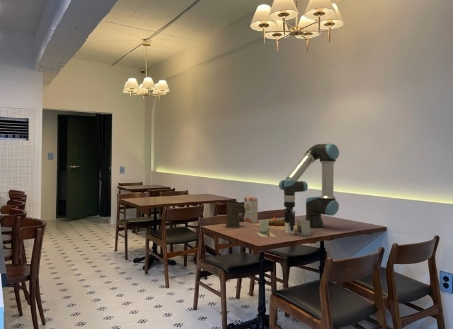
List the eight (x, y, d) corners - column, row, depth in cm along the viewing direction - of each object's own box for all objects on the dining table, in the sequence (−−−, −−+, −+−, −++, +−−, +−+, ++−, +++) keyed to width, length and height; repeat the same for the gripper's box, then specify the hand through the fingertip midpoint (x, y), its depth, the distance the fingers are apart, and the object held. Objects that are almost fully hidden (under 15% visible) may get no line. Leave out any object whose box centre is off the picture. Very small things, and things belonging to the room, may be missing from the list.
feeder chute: (304, 233, 259) (304, 219, 259) (309, 235, 251) (309, 221, 251) (296, 233, 257) (296, 219, 257) (301, 235, 250) (301, 221, 249)
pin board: (269, 233, 258) (269, 224, 257) (277, 238, 242) (277, 228, 242) (254, 234, 255) (254, 225, 255) (262, 239, 239) (262, 229, 239)
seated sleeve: (266, 231, 256) (266, 220, 256) (269, 233, 251) (269, 222, 251) (258, 232, 255) (258, 221, 255) (261, 233, 249) (261, 222, 249)
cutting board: (252, 226, 289) (252, 217, 289) (274, 223, 303) (274, 214, 303) (283, 233, 261) (283, 223, 261) (305, 229, 274) (305, 220, 274)
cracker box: (243, 220, 312) (243, 196, 312) (250, 220, 315) (250, 196, 314) (251, 223, 299) (251, 198, 299) (257, 222, 302) (257, 197, 301)
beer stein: (228, 228, 277) (229, 202, 277) (223, 225, 287) (224, 200, 287) (246, 228, 283) (248, 202, 283) (240, 225, 293) (242, 201, 293)
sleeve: (291, 233, 255) (291, 222, 255) (295, 235, 250) (295, 223, 250) (284, 234, 254) (284, 222, 254) (287, 235, 249) (287, 224, 249)
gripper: (279, 199, 260) (279, 231, 260) (289, 203, 242) (289, 237, 242) (289, 199, 261) (289, 231, 262) (300, 202, 243) (300, 236, 244)
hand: (289, 234), depth 252 cm, fingers closed on sleeve, 6 cm apart
